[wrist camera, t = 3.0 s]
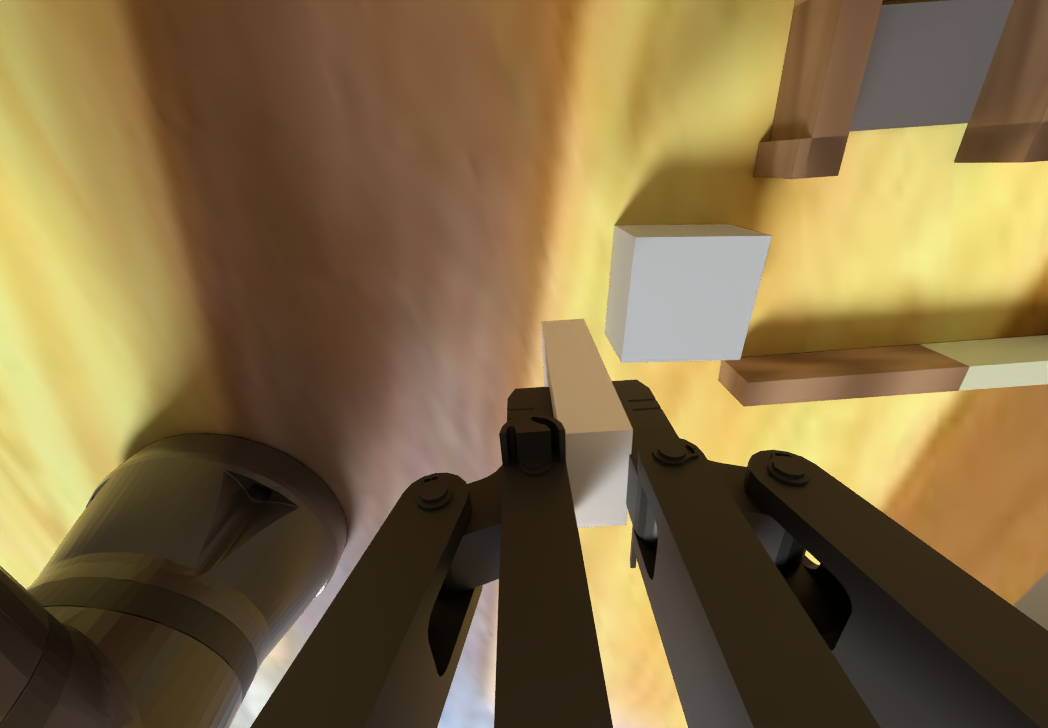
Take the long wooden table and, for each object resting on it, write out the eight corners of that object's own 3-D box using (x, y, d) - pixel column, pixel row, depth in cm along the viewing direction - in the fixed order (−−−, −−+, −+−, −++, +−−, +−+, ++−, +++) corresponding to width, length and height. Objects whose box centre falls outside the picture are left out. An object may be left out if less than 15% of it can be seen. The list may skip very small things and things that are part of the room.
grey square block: (604, 332, 24) (621, 362, 20) (613, 224, 21) (635, 237, 17) (705, 330, 24) (739, 359, 20) (727, 223, 21) (771, 235, 18)
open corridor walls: (718, 380, 25) (743, 406, 22) (790, -40, 16) (845, -80, 14) (910, 366, 25) (958, 390, 22) (1083, -60, 16) (1195, -104, 14)
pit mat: (808, 134, 19) (812, 133, 19) (835, 10, 17) (840, 8, 17) (962, 123, 19) (968, 122, 19) (1007, -2, 17) (1015, -5, 17)
